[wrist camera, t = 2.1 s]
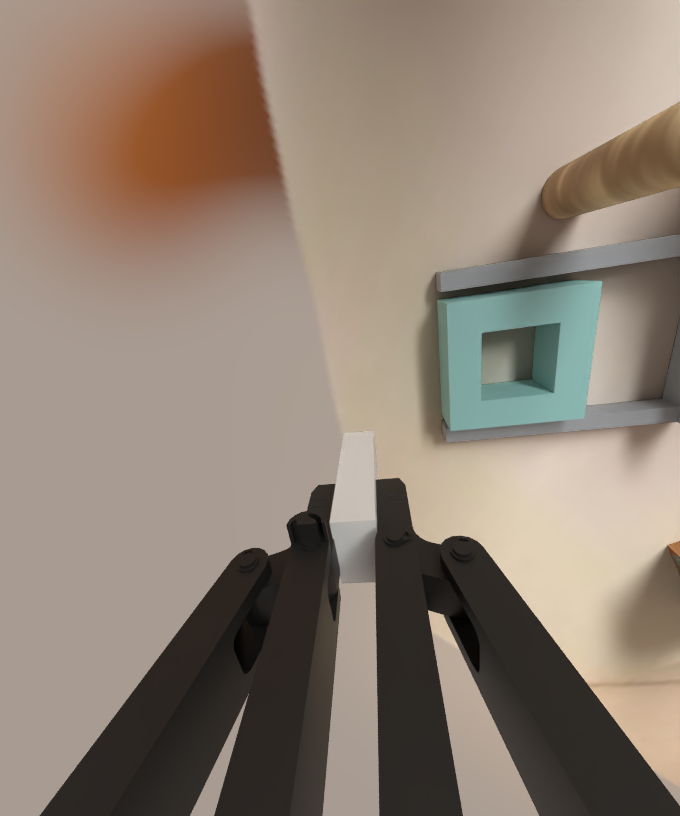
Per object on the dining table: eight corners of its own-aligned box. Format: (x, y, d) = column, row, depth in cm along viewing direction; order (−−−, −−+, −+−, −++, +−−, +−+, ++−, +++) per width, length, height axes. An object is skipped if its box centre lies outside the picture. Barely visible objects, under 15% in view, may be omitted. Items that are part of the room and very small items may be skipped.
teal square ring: (436, 299, 29) (446, 303, 25) (571, 280, 27) (602, 280, 24) (441, 413, 33) (450, 431, 29) (559, 401, 31) (584, 418, 28)
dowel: (543, 169, 25) (731, 57, 12) (594, 159, 24) (849, 31, 11) (539, 223, 26) (705, 173, 13) (588, 214, 26) (810, 155, 13)
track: (435, 272, 28) (452, 272, 23) (728, 226, 25) (830, 212, 20) (442, 433, 34) (456, 464, 28) (682, 410, 31) (750, 440, 25)
